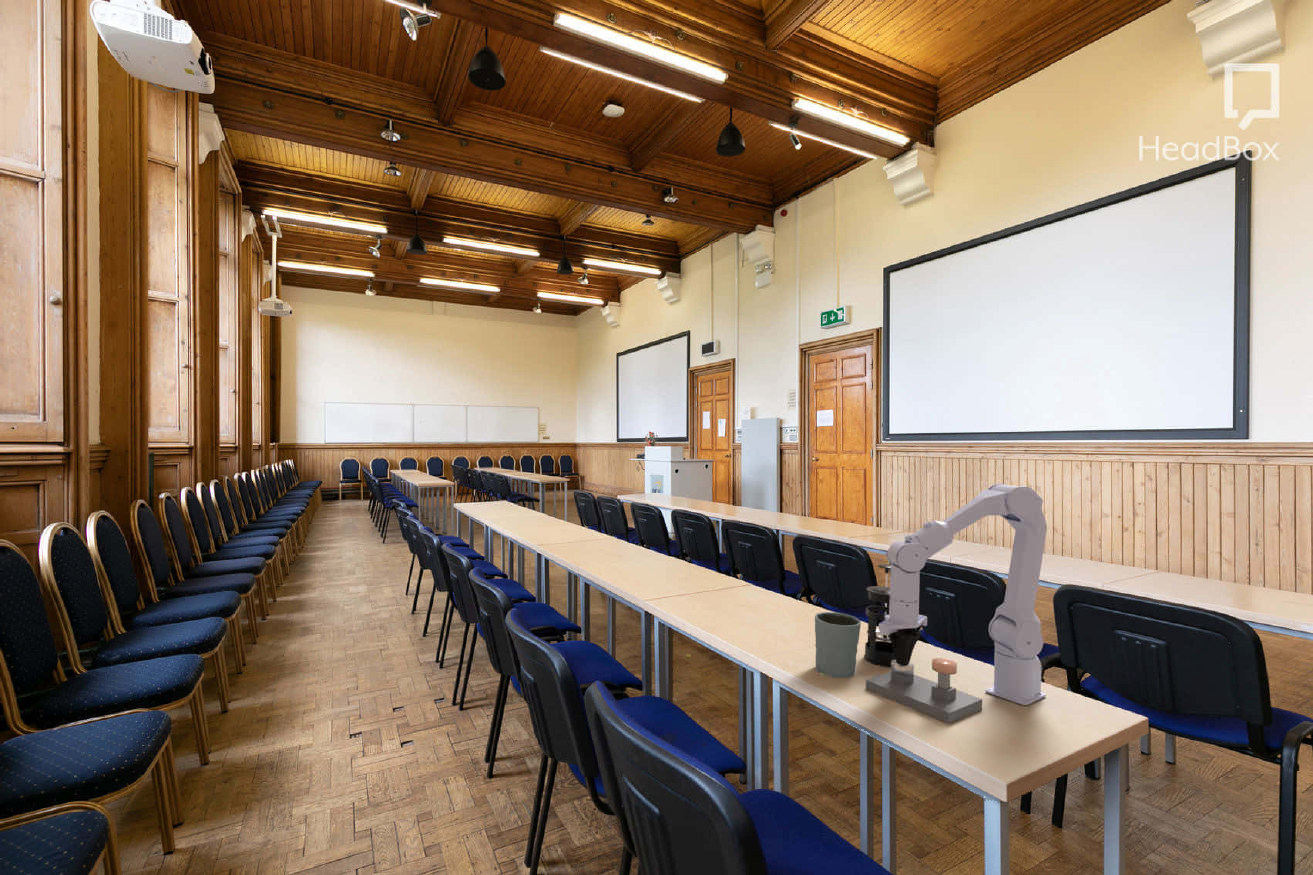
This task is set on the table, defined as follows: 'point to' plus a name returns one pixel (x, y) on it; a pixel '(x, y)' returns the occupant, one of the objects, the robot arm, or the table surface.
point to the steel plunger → (902, 668)
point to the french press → (878, 650)
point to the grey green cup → (836, 643)
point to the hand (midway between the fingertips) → (902, 663)
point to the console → (925, 696)
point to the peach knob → (944, 671)
